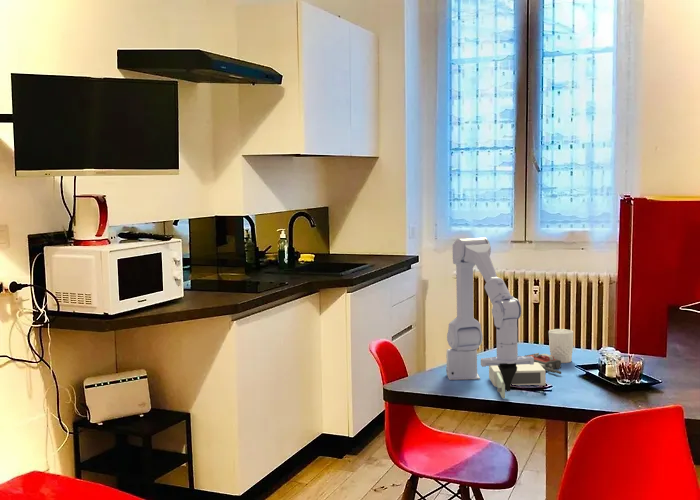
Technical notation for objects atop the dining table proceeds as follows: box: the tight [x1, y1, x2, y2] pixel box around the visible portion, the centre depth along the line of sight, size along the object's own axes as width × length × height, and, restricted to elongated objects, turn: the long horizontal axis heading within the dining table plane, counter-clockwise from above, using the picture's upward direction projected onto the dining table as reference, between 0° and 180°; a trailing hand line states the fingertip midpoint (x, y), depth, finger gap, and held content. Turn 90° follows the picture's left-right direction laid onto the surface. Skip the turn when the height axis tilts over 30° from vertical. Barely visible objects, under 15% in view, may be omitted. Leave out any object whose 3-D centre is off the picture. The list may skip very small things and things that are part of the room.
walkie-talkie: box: [524, 352, 562, 375], centre depth 244 cm, size 9×4×20 cm
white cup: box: [548, 328, 574, 364], centre depth 253 cm, size 8×8×10 cm
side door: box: [496, 373, 506, 399], centre depth 217 cm, size 13×2×4 cm, turn 176°
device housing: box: [488, 362, 547, 387], centre depth 229 cm, size 15×10×4 cm
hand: (507, 390), depth 212 cm, fingers closed
